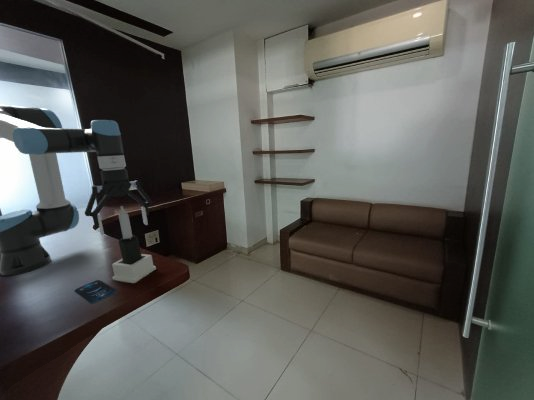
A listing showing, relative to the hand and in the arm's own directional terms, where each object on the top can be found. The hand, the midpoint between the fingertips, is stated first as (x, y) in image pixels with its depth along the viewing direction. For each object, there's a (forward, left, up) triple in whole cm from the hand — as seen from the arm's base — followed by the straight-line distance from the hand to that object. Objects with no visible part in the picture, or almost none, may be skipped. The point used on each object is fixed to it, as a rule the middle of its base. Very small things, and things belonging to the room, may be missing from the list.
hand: (125, 228), depth 83 cm
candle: (0, 0, -17) cm, 17 cm away
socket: (0, 0, -18) cm, 18 cm away
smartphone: (-4, -12, -18) cm, 22 cm away
